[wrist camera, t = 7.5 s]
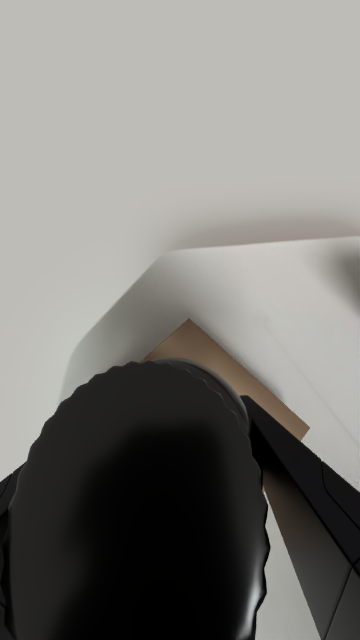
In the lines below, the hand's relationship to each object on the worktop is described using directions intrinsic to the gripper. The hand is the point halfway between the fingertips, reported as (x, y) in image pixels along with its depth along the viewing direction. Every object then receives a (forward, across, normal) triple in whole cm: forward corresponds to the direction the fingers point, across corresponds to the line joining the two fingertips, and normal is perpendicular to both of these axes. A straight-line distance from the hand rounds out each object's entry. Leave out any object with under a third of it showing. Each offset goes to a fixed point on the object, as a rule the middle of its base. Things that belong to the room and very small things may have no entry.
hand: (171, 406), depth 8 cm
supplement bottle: (+4, 0, +6) cm, 7 cm away
